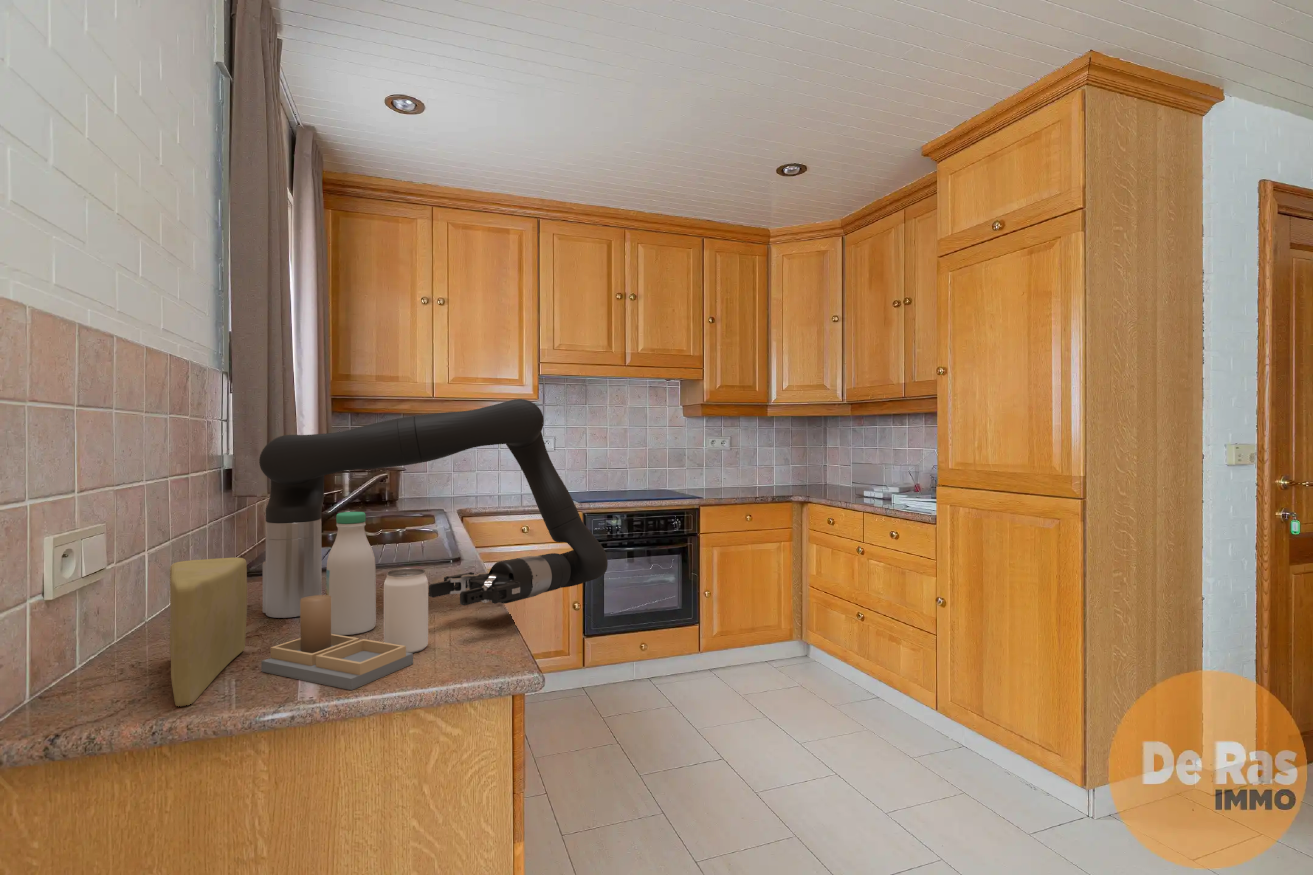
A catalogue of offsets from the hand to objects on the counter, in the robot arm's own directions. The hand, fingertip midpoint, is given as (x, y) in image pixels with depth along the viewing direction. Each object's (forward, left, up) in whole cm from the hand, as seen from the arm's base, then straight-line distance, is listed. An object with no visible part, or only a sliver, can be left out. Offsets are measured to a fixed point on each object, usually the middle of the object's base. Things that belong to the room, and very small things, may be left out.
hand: (445, 594), depth 111 cm
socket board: (-4, -18, -7) cm, 19 cm away
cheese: (-18, -28, -7) cm, 34 cm away
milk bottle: (-18, -3, -7) cm, 19 cm away
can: (-2, -7, -7) cm, 10 cm away
